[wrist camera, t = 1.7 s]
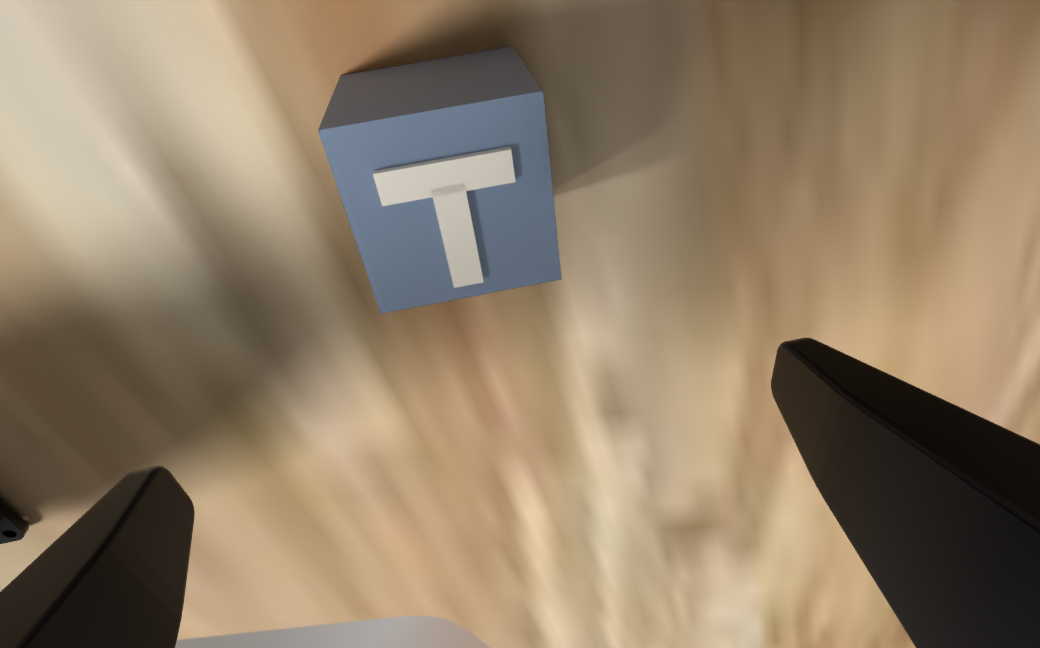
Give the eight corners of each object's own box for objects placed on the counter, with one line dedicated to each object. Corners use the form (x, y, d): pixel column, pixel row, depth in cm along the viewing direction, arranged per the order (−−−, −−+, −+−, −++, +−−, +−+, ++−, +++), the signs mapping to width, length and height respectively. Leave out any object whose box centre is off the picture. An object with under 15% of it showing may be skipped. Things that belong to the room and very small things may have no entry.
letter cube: (531, 202, 20) (563, 283, 16) (386, 229, 19) (380, 318, 15) (511, 45, 17) (544, 93, 13) (340, 75, 16) (316, 132, 12)
